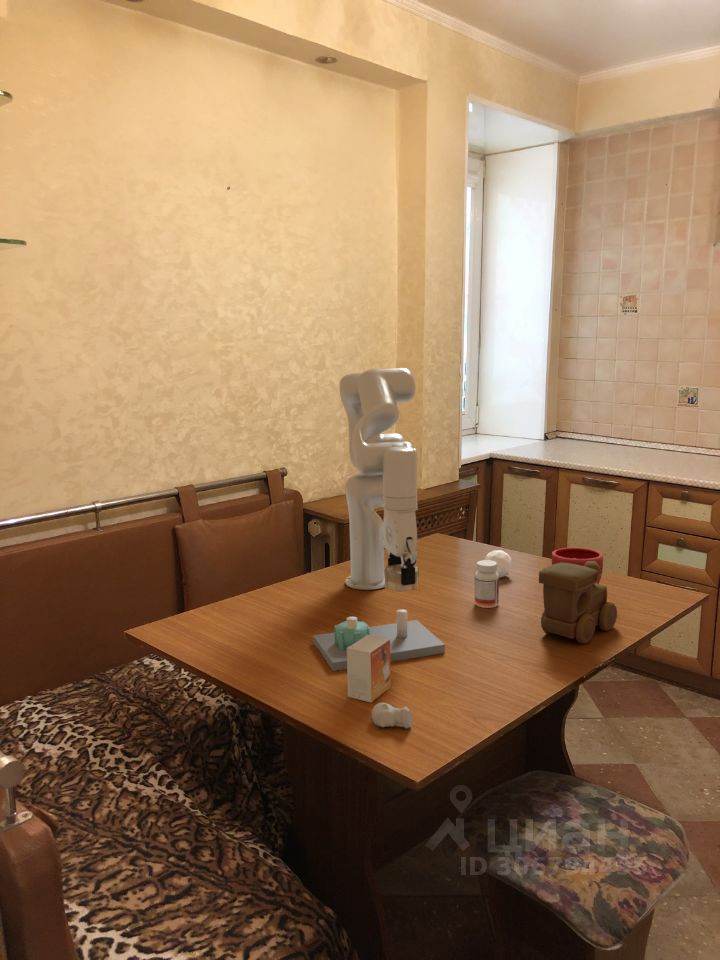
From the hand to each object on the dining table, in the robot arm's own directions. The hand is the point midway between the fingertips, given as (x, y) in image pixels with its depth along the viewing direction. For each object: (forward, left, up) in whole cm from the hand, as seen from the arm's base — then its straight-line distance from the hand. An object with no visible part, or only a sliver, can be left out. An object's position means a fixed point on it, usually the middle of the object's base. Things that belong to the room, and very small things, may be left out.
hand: (401, 578), depth 179 cm
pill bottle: (-16, +30, -16) cm, 38 cm away
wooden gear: (0, 0, -2) cm, 2 cm away
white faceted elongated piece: (-37, +44, -16) cm, 60 cm away
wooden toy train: (+9, +41, -16) cm, 45 cm away
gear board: (0, -6, -16) cm, 17 cm away
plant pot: (-13, +55, -16) cm, 59 cm away
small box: (+20, -15, -16) cm, 30 cm away
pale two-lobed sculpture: (+34, -16, -16) cm, 41 cm away
